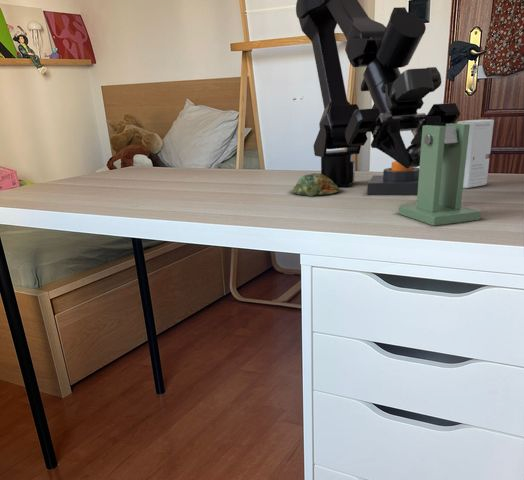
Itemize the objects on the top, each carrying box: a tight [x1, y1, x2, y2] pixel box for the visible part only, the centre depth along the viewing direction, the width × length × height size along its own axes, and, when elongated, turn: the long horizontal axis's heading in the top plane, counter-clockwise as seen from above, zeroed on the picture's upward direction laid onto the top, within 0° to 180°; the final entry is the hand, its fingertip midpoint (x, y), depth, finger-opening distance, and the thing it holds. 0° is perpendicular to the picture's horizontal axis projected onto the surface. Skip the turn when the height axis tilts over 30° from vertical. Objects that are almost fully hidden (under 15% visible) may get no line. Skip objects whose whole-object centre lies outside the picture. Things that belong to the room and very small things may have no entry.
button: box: [390, 160, 412, 171], centre depth 103 cm, size 4×4×2 cm
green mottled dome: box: [291, 173, 340, 197], centre depth 107 cm, size 10×4×10 cm
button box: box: [366, 167, 419, 196], centre depth 104 cm, size 12×10×4 cm
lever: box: [406, 126, 458, 168], centre depth 82 cm, size 11×4×4 cm, turn 18°
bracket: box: [398, 122, 482, 227], centre depth 80 cm, size 10×8×13 cm
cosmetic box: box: [456, 119, 495, 189], centre depth 103 cm, size 6×4×12 cm
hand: (419, 165), depth 85 cm, fingers closed on lever, 3 cm apart
